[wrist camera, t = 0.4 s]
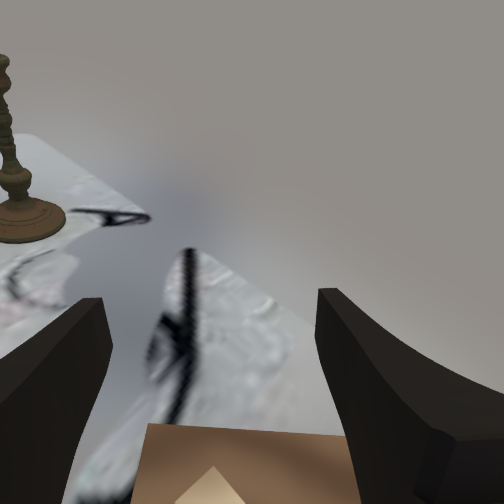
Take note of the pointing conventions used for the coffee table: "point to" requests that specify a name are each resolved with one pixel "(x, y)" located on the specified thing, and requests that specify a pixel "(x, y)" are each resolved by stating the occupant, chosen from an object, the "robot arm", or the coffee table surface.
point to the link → (210, 491)
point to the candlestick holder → (20, 186)
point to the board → (246, 465)
